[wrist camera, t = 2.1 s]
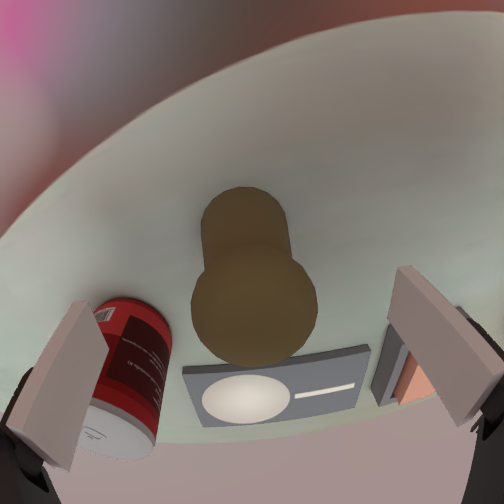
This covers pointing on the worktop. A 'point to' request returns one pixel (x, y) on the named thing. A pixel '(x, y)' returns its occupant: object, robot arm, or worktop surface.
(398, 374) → the button housing
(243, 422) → the slate board
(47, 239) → the worktop surface
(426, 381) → the button
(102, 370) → the canned food
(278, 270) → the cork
